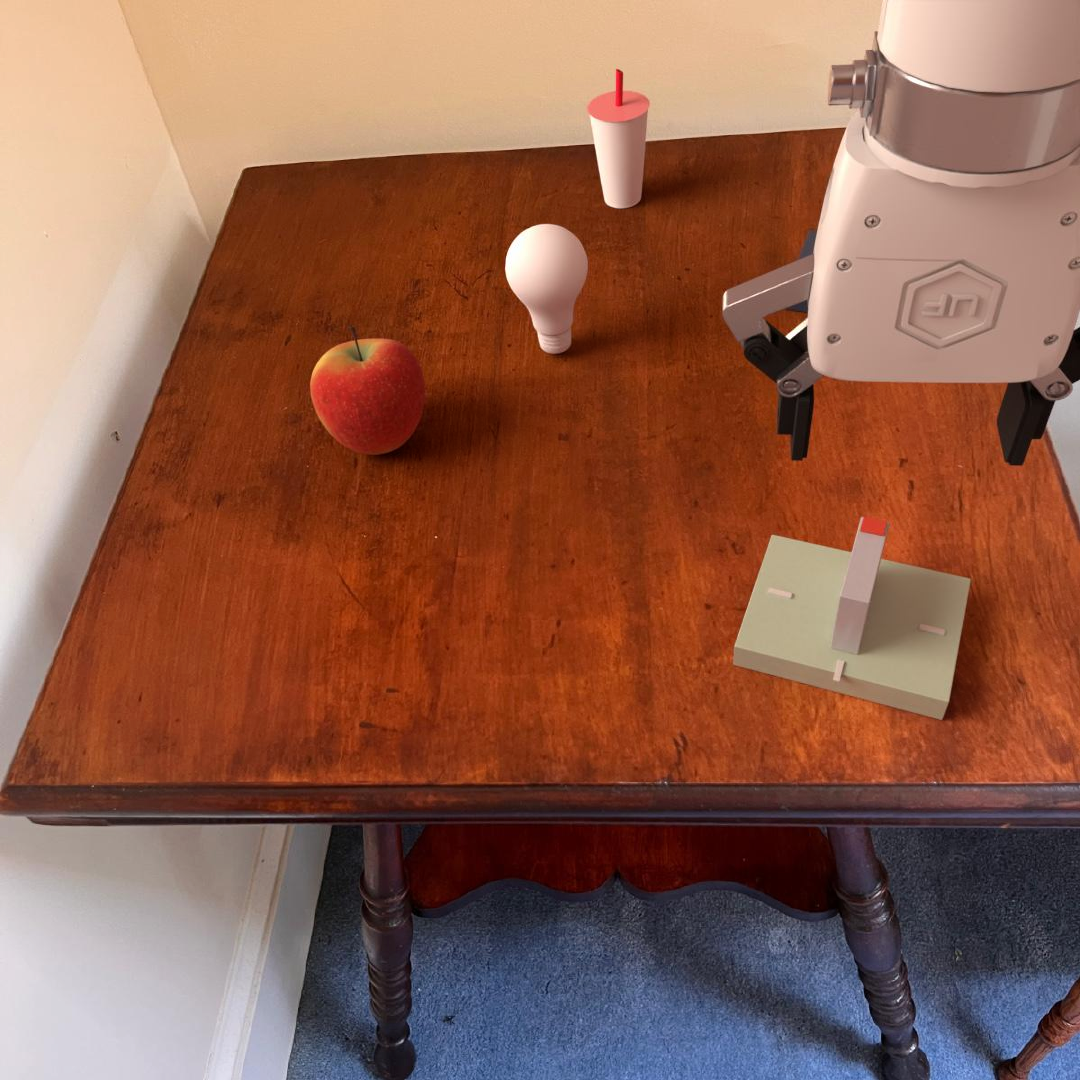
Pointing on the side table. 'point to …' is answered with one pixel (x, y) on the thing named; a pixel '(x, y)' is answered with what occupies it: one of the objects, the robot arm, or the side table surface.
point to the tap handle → (859, 585)
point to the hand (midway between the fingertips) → (901, 442)
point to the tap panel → (889, 636)
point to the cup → (620, 143)
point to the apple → (369, 394)
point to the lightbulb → (548, 280)
